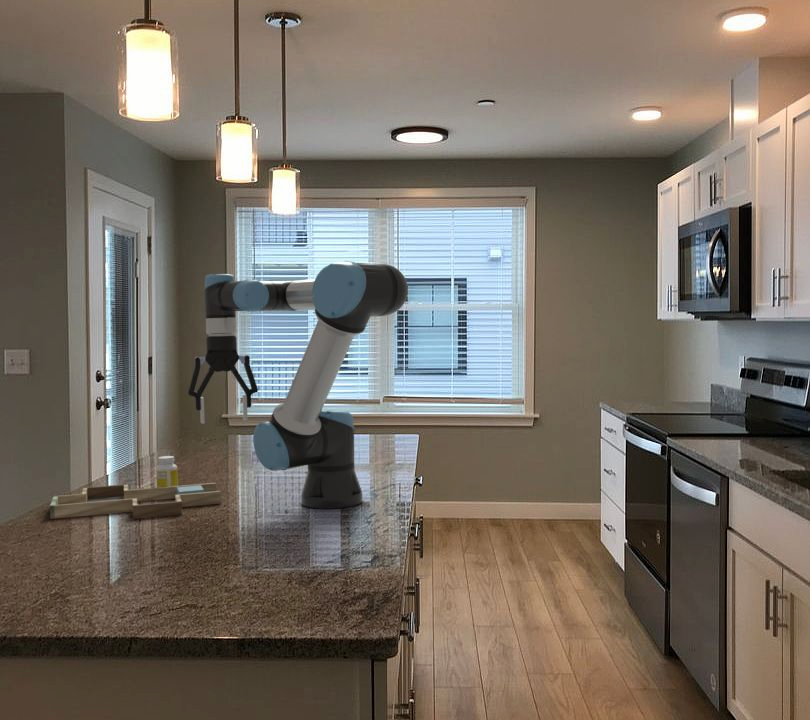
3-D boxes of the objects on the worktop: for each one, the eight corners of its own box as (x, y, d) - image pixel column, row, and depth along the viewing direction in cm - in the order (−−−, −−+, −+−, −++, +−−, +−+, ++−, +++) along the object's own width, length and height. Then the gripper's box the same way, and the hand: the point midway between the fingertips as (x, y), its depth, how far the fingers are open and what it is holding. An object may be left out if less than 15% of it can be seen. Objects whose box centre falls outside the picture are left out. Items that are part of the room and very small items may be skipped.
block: (204, 503, 209) (203, 489, 209) (179, 505, 207) (179, 491, 207) (201, 498, 215) (200, 485, 215) (177, 500, 213) (176, 487, 212)
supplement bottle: (177, 490, 224) (176, 454, 224) (179, 494, 219) (178, 457, 218) (156, 492, 222) (155, 456, 222) (158, 496, 217) (156, 459, 217)
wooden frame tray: (224, 510, 200) (224, 498, 200) (47, 526, 187) (46, 513, 187) (213, 488, 226) (212, 477, 226) (56, 501, 214) (56, 489, 214)
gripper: (263, 333, 219) (266, 417, 220) (174, 336, 211) (177, 422, 213) (268, 334, 212) (270, 420, 213) (176, 336, 204) (179, 426, 206)
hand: (224, 421), depth 213 cm, fingers open, 10 cm apart
